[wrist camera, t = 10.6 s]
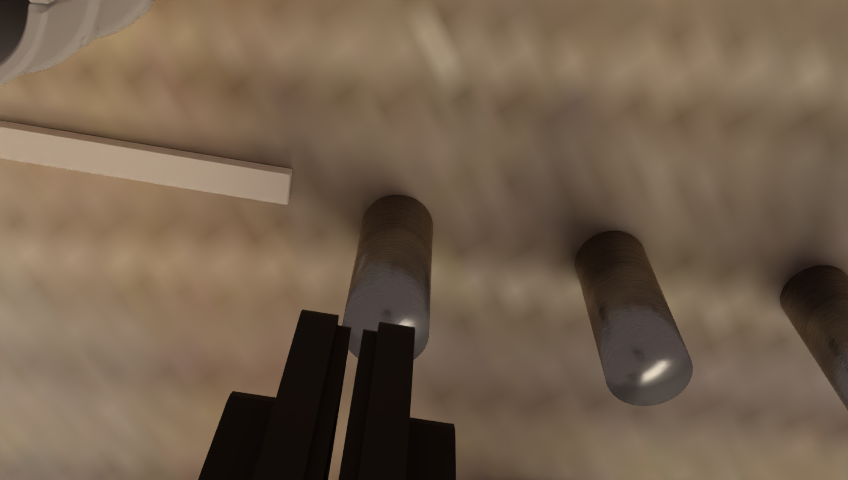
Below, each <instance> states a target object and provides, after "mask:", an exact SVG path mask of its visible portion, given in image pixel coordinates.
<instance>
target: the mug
mask: <svg viewBox="0 0 848 480" xmlns="http://www.w3.org/2000/svg"><path fill="white" fill-rule="evenodd" d="M153 2H154V0H0V86H1V85H3V84H5V83H7V82H9V81H11V80H13V79H15V78H17V77H18V76H20V75H22V74H27V73H33V72H38V71H42V70H45V69H48V68H50V67H53V66H55V65H57V64H59V63H61V62H63V61H64V60H66V59H67V58H69V57H70V56H72V55H73V54H75V53H76V52H77V51H79V50H80V49H81V48H82V47H83V46H87V45H88V44H89V43H90V42H92V41H93V40H94V39H97V38H102V37H105V36H108V35H111V34H114V33H116V32H118V31H120V30H122V29H124V28H126V27H127V26H129V25H131V24H132V23H134V22H135V21H136V20H137V19H138V18H140V17H141V16H142V15H144V14H145V13H147V12H148V11H149V10H150V8H151V7H152V5H153Z"/></svg>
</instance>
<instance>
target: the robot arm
mask: <svg viewBox="0 0 848 480" xmlns="http://www.w3.org/2000/svg"><path fill="white" fill-rule="evenodd" d="M338 318H339V315H334V314H327V313H321V312H314V311H308V310H302V311H301V314H300V317H299V320H298V324H297V327H296V331H295V334H294V338H293V341H292V345H291V348H290V351H289V355H288V358H287V362H286V365H285V369H284V372H283V376H282V379H281V383H280V386H279V389H278V393H277V396H276V398H275V397H268V396H261V395H255V394H248V393H241V392H235V391H233V392H232V393H231V394H230V396H229V398H228V400H227V403H226V405H225V408H224V411H223V414H222V416H221V419H220V422H219V424H218V427H217V430H216V433H215V435H214V438H213V441H212V443H211V446H210V449H209V452H208V454H207V457H206V460H205V462H204V465H203V468H202V471H201V473H200V476H199V479H198V480H328V476H329V470H330V464H331V458H332V451H333V445H334V438H335V432H336V425H337V419H338V412H339V406H340V399H341V393H342V386H343V380H344V373H345V367H346V360H347V354H348V347H349V341H350V334H351V327H346V326H340V325H338ZM414 343H415V327H410V326H404V325H398V324H391V323H385V322H379V324H378V330H377V331H372V330H366V329H363V333H362V340H361V346H360V352H359V358H358V364H357V370H356V376H355V382H354V389H353V395H352V401H351V407H350V413H349V419H348V425H347V431H346V438H345V444H344V450H343V456H342V462H341V468H340V474H339V480H456V456H455V427H454V424H449V423H443V422H436V421H429V420H423V419H416V418H410V405H411V389H412V374H413V359H414Z"/></svg>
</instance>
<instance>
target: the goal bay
mask: <svg viewBox="0 0 848 480" xmlns="http://www.w3.org/2000/svg"><path fill="white" fill-rule="evenodd" d="M0 158H2V159H8V160H14V161H20V162H26V163H32V164H39V165H45V166H51V167H57V168H63V169H69V170H75V171H81V172H88V173H94V174H100V175H106V176H112V177H118V178H124V179H130V180H136V181H143V182H149V183H155V184H161V185H167V186H173V187H179V188H185V189H192V190H198V191H204V192H210V193H216V194H222V195H228V196H234V197H240V198H247V199H253V200H259V201H265V202H271V203H277V204H283V205H287V204H288V202H289V199H290V190H291V179H292V169H289V168H283V167H277V166H271V165H265V164H259V163H253V162H247V161H241V160H235V159H229V158H223V157H217V156H211V155H205V154H199V153H193V152H187V151H181V150H175V149H169V148H163V147H157V146H151V145H145V144H139V143H133V142H127V141H121V140H115V139H109V138H103V137H97V136H91V135H85V134H79V133H73V132H67V131H61V130H55V129H49V128H43V127H37V126H31V125H25V124H19V123H13V122H7V121H1V120H0Z"/></svg>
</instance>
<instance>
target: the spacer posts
mask: <svg viewBox="0 0 848 480" xmlns="http://www.w3.org/2000/svg"><path fill="white" fill-rule="evenodd" d="M432 236H433V223H432V219H431V216H430V214H429V212H428V210H427V209H426V208H425V207H424V206H423V205H422V204H421V203H420V202H418V201H417V200H415V199H413V198H410V197H407V196H402V195H392V196H387V197H383V198H381V199H379V200H377V201H376V202H374V203H373V204H372V205H371V206H370V207H369V208H368V210H367V211H366V213H365V216H364V219H363V224H362V229H361V234H360V239H359V244H358V249H357V254H356V259H355V264H354V269H353V274H352V279H351V284H350V289H349V294H348V299H347V304H346V309H345V314H344V319H343V324H342V326H346V327H351V334H350V341H349V347H348V349H349V350H350V352H351V353H352V354H354V355H355V356H356V357H357V358H359V352H360V346H361V340H362V333H363V329H366V330H372V331H377V330H378V324H379V322H385V323H391V324H398V325H404V326H410V327H415V343H414V359H415V358H416V357H418V356H419V355H420V354H421V353H422V351H423V350H424V349H425V347H426V345H427V342H428V337H429V317H430V290H431V263H432ZM576 270H577V274H578V277H579V281H580V285H581V289H582V292H583V296H584V300H585V304H586V307H587V311H588V315H589V319H590V322H591V326H592V330H593V334H594V337H595V341H596V345H597V349H598V352H599V356H600V360H601V364H602V367H603V371H604V375H605V379H606V383H607V385H608V388H609V390H610V391H611V392H612V394H613V395H614V396H616V397H617V398H618V399H620V400H621V401H624V402H626V403H629V404H632V405H639V406H649V405H656V404H660V403H663V402H666V401H668V400H670V399H672V398H674V397H675V396H677V395H678V394H679V393H681V392H682V391H683V390H684V389H685V387H686V386H687V385H688V383H689V381H690V379H691V376H692V371H693V366H692V361H691V359H690V356H689V354H688V351H687V349H686V347H685V344H684V342H683V340H682V337H681V335H680V333H679V330H678V328H677V326H676V323H675V321H674V319H673V316H672V314H671V312H670V309H669V307H668V305H667V302H666V300H665V297H664V295H663V293H662V290H661V288H660V286H659V283H658V281H657V279H656V276H655V274H654V272H653V269H652V267H651V265H650V262H649V260H648V258H647V255H646V253H645V251H644V248H643V246H642V244H641V243H640V242H639V241H638V240H637V239H636V238H635V237H633V236H632V235H630V234H627V233H624V232H619V231H609V232H604V233H600V234H598V235H595V236H593V237H592V238H590V239H589V240H588V241H586V242H585V243H584V244H583V246H582V247H581V248H580V250H579V252H578V254H577V257H576ZM781 306H782V309H783V311H784V312H785V314H786V315H787V317H788V318H789V320H790V322H791V323H792V325H793V326H794V328H795V329H796V331H797V332H798V334H799V335H800V337H801V339H802V340H803V342H804V343H805V345H806V346H807V348H808V349H809V351H810V353H811V354H812V356H813V357H814V359H815V360H816V362H817V363H818V365H819V367H820V368H821V370H822V371H823V373H824V374H825V376H826V377H827V379H828V380H829V382H830V384H831V385H832V387H833V388H834V390H835V391H836V393H837V394H838V396H839V398H840V399H841V401H842V402H843V404H844V405H845V407H846V408H847V410H848V276H847V275H846V274H845V273H844V272H843V271H841V270H840V269H838V268H835V267H831V266H817V267H812V268H809V269H806V270H804V271H802V272H800V273H798V274H797V275H795V276H794V277H793V278H792V279H791V280H790V281H789V282H788V283H787V284H786V286H785V287H784V289H783V291H782V294H781ZM414 359H413V360H414Z"/></svg>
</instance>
